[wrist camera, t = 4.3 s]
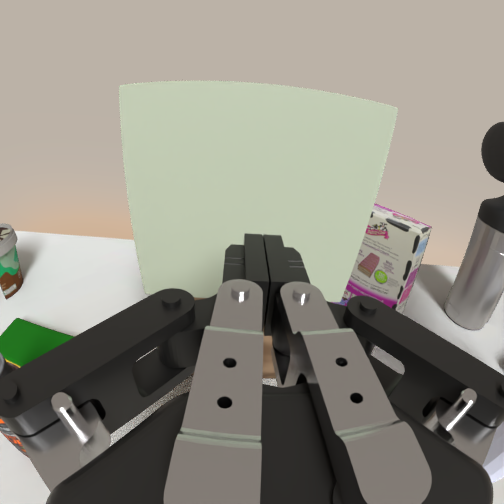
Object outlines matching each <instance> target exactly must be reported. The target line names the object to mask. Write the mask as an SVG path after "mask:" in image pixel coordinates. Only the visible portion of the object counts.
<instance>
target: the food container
mask: <svg viewBox="0 0 504 504" xmlns="http://www.w3.org/2000/svg"><path fill="white" fill-rule="evenodd" d="M16 242H17V236H16V234H15V231H14V229H13V228H12V227H11V226H10V225H9V224H0V286H1V289H2V291H3V294H4V296H5V298H6V299H8V298H10V297H11V296H13V295H14V294H15V293H16V292H17V291H18V290H19V289H20V288H21V286H22V284H23V278H22V274H21V269H20V265H19V260H18V256H17V251H16V246H15V244H16Z"/></svg>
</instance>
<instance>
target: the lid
mask: <svg viewBox="0 0 504 504" xmlns="http://www.w3.org/2000/svg"><path fill="white" fill-rule="evenodd" d="M119 97H120V98H119V100H120V121H121V137H122V150H123V160H124V169H125V179H126V187H127V195H128V203H129V210H130V216H131V223H132V229H133V235H134V241H135V247H136V252H137V258H138V263H139V268H140V273H141V277H142V282H143V287H144V291H145V294H154V293H156V292H158V291H160V290H163V289H169V288H177V289H182V290H185V291H187V292H189V293H190V294H191V295H192V296H193V297H197V298H209V297H211V296H214V295H215V294H217V293H218V289H219V287H220V286H221V285H222V280H223V269H224V259H225V250H226V249H227V248H228V247H229V246H230V245H231V244H236V245H244V234H245V233H248V234H262V236H263V234H267V235H281V237H282V240H283V244H284V247H293V248H294V249H295V250H297V251H298V252H299V253H300V255H301V257H302V260H303V263H304V266H305V269H306V272H307V274H308V277H309V280H310V283H311V284H312V285H314V286H315V287H317V288H318V289H319V290H320V291H321V292H322V294H323V296H324V298H325V300H326V301H328V302H341V299H342V297H343V294H344V291H345V289H346V286H347V283H348V281H349V278H350V275H351V273H352V270H353V267H354V264H355V261H356V259H357V256H358V253H359V250H360V247H361V244H362V241H363V238H364V235H365V232H366V229H367V226H368V223H369V219H370V216H371V213H372V210H373V206H374V203H375V200H376V196H377V193H378V189H379V186H380V182H381V179H382V175H383V171H384V167H385V163H386V160H387V156H388V151H389V147H390V144H391V139H392V135H393V131H394V126H395V122H396V117H397V112H398V108H395V107H393V106H391V105H387V104H383V103H378V102H375V101H370V100H366V99H362V98H357V97H353V96H347V95H343V94H337V93H332V92H326V91H320V90H314V89H307V88H300V87H292V86H283V85H273V84H263V83H249V82H232V81H166V82H148V83H135V84H125V85H122V86H119Z"/></svg>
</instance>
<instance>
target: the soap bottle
mask: <svg viewBox="0 0 504 504" xmlns="http://www.w3.org/2000/svg"><path fill="white" fill-rule="evenodd" d="M483 467H484V469H485V470H486V471H487V473H488V475H489V477H490V479H491V482H496V481H498V480H500V479H502V478H504V422H503V423H502V424H501V425H500V426H499V427H498V428H497V429H496V432H495V435H494V438H493V440H492V443H491V446H490V448H489V451H488V454H487V456H486V459H485V461H484V463H483Z"/></svg>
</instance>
